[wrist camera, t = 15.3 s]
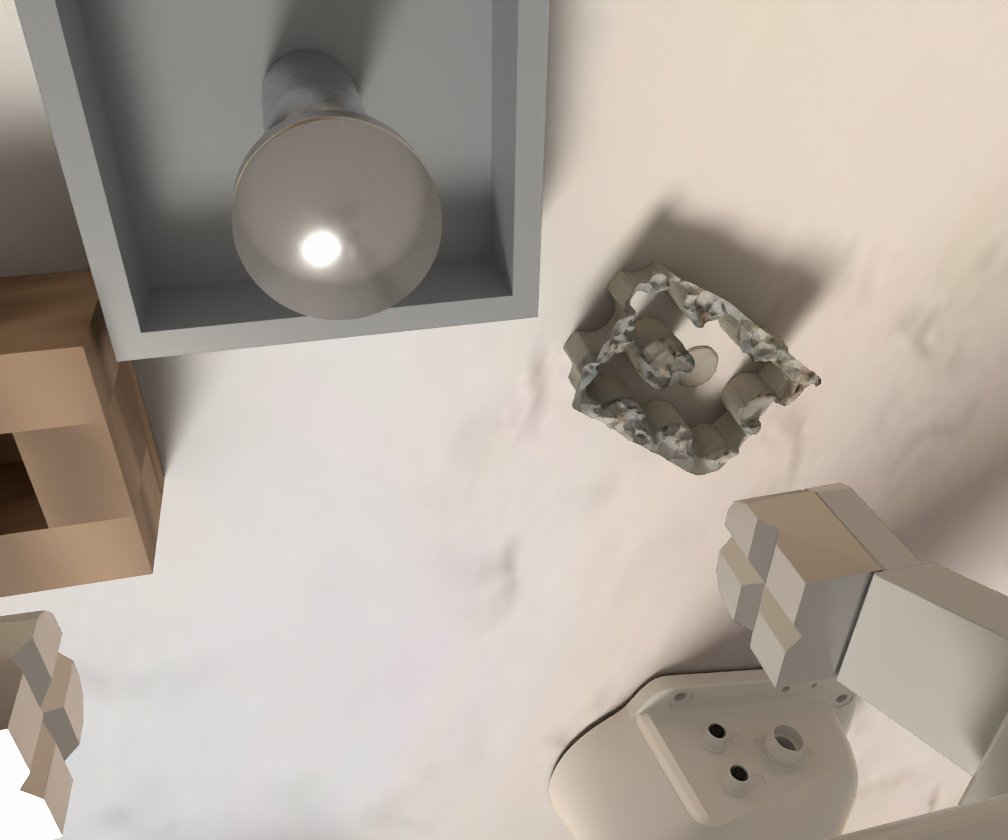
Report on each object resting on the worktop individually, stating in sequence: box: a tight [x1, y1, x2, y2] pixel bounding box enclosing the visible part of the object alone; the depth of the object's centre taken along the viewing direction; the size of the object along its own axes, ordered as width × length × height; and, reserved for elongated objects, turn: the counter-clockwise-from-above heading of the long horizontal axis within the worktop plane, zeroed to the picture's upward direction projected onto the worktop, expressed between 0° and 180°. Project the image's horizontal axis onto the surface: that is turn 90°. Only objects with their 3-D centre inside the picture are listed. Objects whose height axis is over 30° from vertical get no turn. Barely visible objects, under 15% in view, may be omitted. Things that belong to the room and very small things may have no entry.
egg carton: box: [563, 261, 821, 475], centre depth 39 cm, size 11×8×4 cm
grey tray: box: [14, 0, 550, 362], centre depth 28 cm, size 15×15×4 cm
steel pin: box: [232, 49, 442, 320], centre depth 25 cm, size 5×5×12 cm
